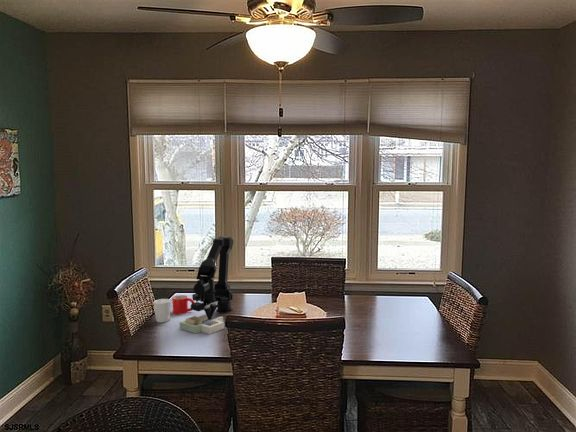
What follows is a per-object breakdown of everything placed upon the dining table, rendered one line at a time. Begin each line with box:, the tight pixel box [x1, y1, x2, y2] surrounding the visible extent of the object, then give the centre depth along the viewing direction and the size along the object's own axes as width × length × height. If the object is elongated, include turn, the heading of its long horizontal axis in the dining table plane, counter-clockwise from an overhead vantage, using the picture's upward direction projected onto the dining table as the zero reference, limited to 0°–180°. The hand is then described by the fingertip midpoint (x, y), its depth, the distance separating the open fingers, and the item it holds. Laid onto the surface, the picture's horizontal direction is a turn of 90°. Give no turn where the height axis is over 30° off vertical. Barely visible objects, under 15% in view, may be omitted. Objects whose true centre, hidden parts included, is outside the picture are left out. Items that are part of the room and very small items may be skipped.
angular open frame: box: [179, 313, 225, 335], centre depth 238 cm, size 18×18×3 cm
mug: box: [171, 294, 196, 315], centre depth 261 cm, size 8×12×8 cm, turn 85°
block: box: [185, 315, 202, 326], centre depth 236 cm, size 5×5×5 cm
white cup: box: [153, 298, 171, 323], centre depth 248 cm, size 8×8×10 cm
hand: (209, 319), depth 243 cm, fingers closed
